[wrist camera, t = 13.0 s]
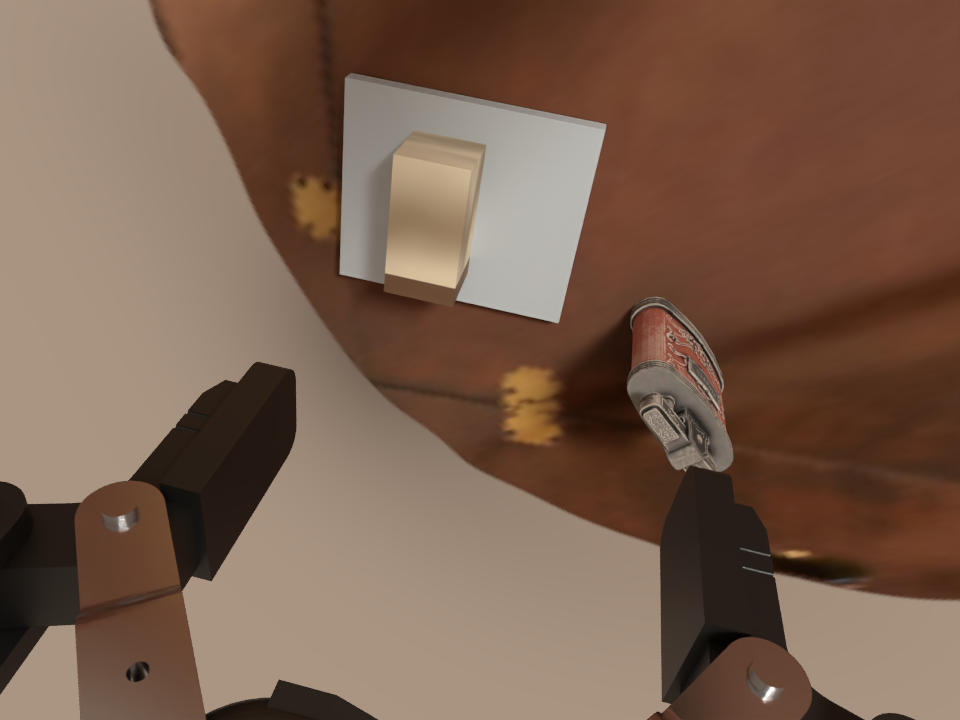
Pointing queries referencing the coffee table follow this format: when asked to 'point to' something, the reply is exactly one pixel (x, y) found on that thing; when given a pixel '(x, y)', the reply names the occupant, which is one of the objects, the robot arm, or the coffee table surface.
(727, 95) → the coffee table surface
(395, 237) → the block
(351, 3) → the coffee table surface
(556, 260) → the mat
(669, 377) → the lighter
